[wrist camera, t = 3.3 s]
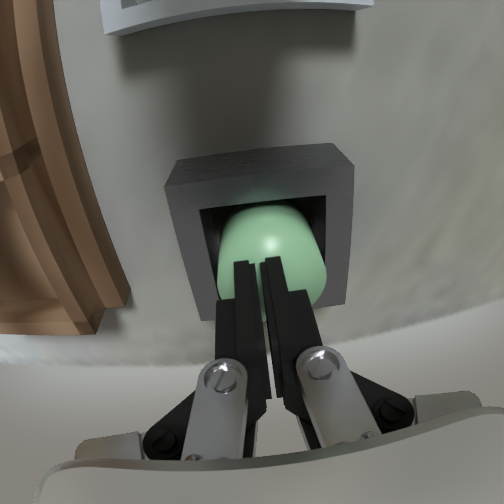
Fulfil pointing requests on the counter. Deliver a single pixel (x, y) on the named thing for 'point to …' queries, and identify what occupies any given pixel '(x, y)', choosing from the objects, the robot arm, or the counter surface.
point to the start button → (270, 247)
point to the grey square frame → (199, 11)
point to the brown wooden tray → (47, 191)
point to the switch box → (257, 190)
